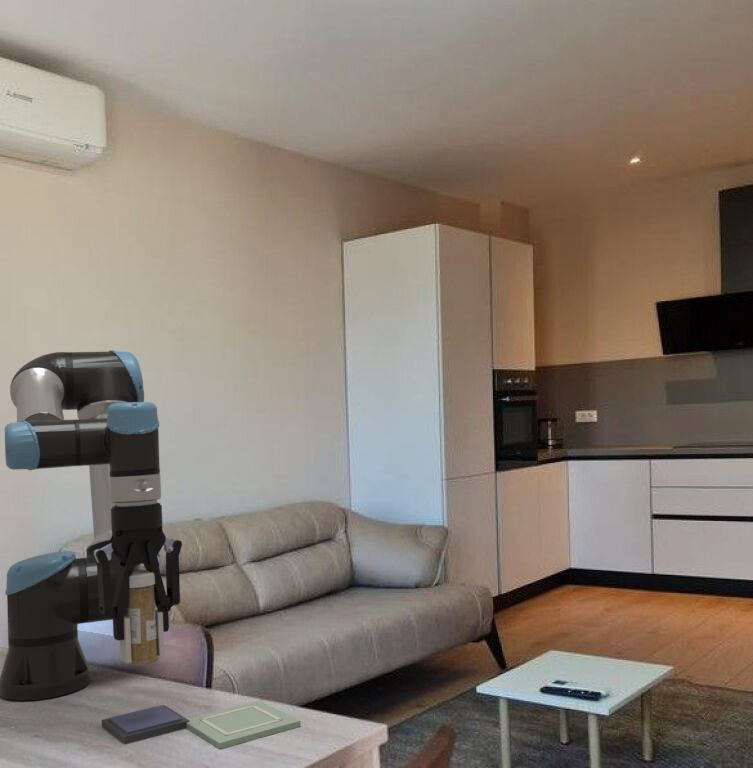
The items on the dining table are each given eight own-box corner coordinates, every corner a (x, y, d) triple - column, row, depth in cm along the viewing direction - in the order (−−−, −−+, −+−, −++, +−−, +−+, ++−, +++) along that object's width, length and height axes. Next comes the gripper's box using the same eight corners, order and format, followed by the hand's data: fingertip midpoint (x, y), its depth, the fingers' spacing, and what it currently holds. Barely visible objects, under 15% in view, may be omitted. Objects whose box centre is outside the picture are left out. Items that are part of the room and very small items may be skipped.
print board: (182, 725, 132) (182, 719, 132) (259, 705, 140) (259, 699, 140) (219, 749, 122) (219, 742, 122) (300, 726, 129) (300, 719, 129)
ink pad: (101, 726, 134) (101, 717, 134) (164, 711, 140) (163, 702, 140) (124, 744, 126) (123, 735, 126) (189, 727, 131) (189, 718, 132)
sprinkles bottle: (162, 662, 132) (158, 572, 133) (132, 668, 130) (129, 576, 130) (152, 656, 136) (148, 569, 137) (123, 662, 134) (119, 573, 134)
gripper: (86, 510, 126) (92, 674, 125) (199, 498, 136) (206, 650, 135) (71, 507, 132) (76, 664, 131) (180, 497, 142) (186, 642, 141)
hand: (142, 657), depth 133 cm, fingers closed on sprinkles bottle, 4 cm apart
